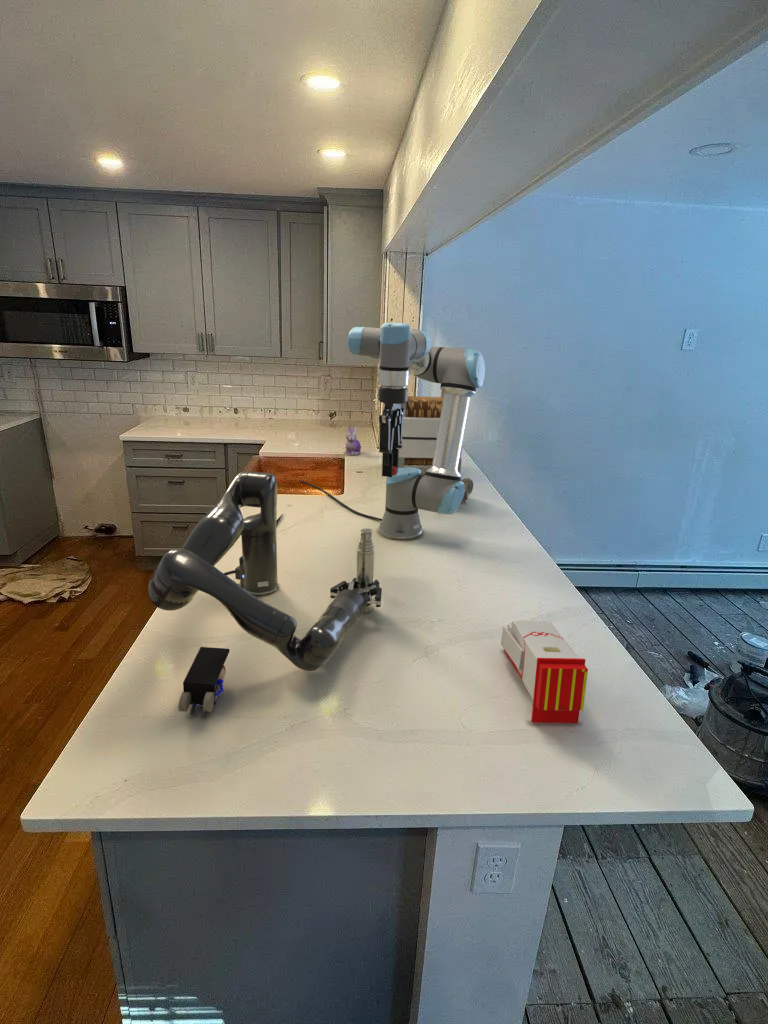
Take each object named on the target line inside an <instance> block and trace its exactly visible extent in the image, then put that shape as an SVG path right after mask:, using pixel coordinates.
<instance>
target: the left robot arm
mask: <svg viewBox="0 0 768 1024" xmlns="http://www.w3.org/2000/svg"><path fill="white" fill-rule="evenodd" d="M244 507H247V508H248V507H249V508H259V509H260V511H259V513H256V514H252V515H248V516H246V517H244V515H243V513H242V510H241V508H244ZM277 520H278V481H277V477H276V476H275V475H274V474H273V473H269V472H260V471H247V470H246V471H245V470H244V471H241V472H239V473H238V474H237V475H236V476H235V477H234V478H233V480H232V481H231V483H229V485H228V487H227V489H226V490H225V492H224V493H223V494H222V496H221V497H220V498H219V499H218V501H217V502H216V503H215V504H214V505H213V506H212V507H211V508H210V509H209V510H208V511H207V512H206V513H205V515H203V517H202V518H201V519H199V521H198V523H196V525H195V526H194V528H193V530H192V531H191V532H190V534H189V536H188V537H187V539H186V541H185V542H184V544H183V545H182V547H181V548H173V549H170V550H169V551H167V552H165V554H164V555H163V556H162V557H161V559H160V560H159V562H158V564H157V565H156V567H155V568H154V570H153V573H152V574H151V576H150V578H149V580H148V584H147V595H148V599H149V600H150V602H151V603H152V604H153V606H155V607H156V608H157V609H160V610H162V611H169V612H172V611H177V610H181V609H183V608H185V607H186V606H188V605H189V604H190V603H192V601H193V600H194V598H195V597H196V595H197V594H198V593H199V592H202V593H204V594H206V595H209V596H211V597H212V598H213V599H215V600H216V601H217V602H219V603H220V604H221V605H222V606H223V607H224V608H225V609H226V610H227V612H228V613H229V614H230V615H231V617H232V618H233V619H234V621H235V622H236V624H237V625H238V626H239V627H240V628H241V629H242V630H243V631H244V632H246V633H247V634H249V635H251V637H254V638H256V639H258V640H260V641H261V642H264V643H266V644H268V645H269V646H272V647H274V648H275V649H276V650H277V651H278V652H279V653H281V654H282V655H283V656H284V657H285V658H286V659H287V660H288V661H290V663H291V664H293V665H294V666H295V667H297V668H298V669H299V670H301V671H304V672H316V671H318V670H319V669H321V668H322V667H323V665H324V664H325V663H326V662H327V661H328V660H329V659H330V657H331V656H332V655H333V654H334V653H335V652H336V651H337V650H338V648H339V647H340V645H341V643H342V641H343V639H344V638H345V637H346V635H347V634H348V632H349V631H350V630H351V629H352V628H353V627H354V626H355V625H356V623H357V622H358V620H359V619H360V617H361V616H362V615H363V612H364V610H365V608H366V607H368V606H369V605H370V604H372V605H374V606H375V607H376V608H381V607H382V592H383V590H382V589H383V588H382V587H380V584H381V583H380V581H379V579H375V580H373V584H372V585H371V586H370V587H366V588H364V589H362V590H358V589H356V577H354V578H352V580H350V581H349V582H347V581H346V580H342V581H341V582H339V583H336V584H335V585H333V586H332V587H330V588H329V598H330V599H332V600H331V601H330V603H329V604H328V606H327V607H326V609H325V610H324V612H323V613H322V614H321V615H320V617H318V619H317V621H316V622H315V623H314V624H313V625H312V626H311V627H310V628H309V629H308V631H307V632H306V633H305V634H304V635H303V636H302V637H301V638H299V637H298V636H296V635H295V633H296V630H297V625H298V623H297V620H296V619H295V618H294V616H291V615H290V614H289V613H286V612H284V611H283V610H280V609H279V608H276V607H274V606H272V605H271V604H270V603H267V602H265V601H263V600H261V599H260V598H259V597H257V596H264V595H269V594H272V593H274V592H276V591H277V590H278V589H279V583H278V581H279V580H278V550H277V549H278V547H277V540H278V539H277V526H276V521H277ZM240 537H241V539H240V540H241V556H240V557H239V558H238V562H239V563H238V564H239V565H238V566H237V567H235V568H234V569H233V570H229V571H225V572H222V571H221V570H219V569H218V568H217V567H216V565H217V564H218V563H219V562H220V561H221V560H222V559H223V558H224V556H225V555H227V553H228V552H229V551H230V550H231V549H232V548H233V546H234V545H235V544H236V542H237V541H238V540H239V538H240ZM234 574H235V575H234ZM229 575H234V576H235V580H238V581H239V583H237V582H236V581H235V580H234V579H232V578H230V577H229ZM239 584H240V585H239ZM371 598H372V599H371Z"/></svg>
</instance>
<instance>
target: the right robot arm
mask: <svg viewBox="0 0 768 1024" xmlns="http://www.w3.org/2000/svg"><path fill="white" fill-rule="evenodd" d="M411 328H412V327H411V325H410V324H409V323H405V322H384V323H382V325H381V326H380V327H370V326H369V327H367V326H364V325H363V326H354V327H352V328H351V329H350V331H349V333H348V336H347V347H348V350H349V352H350V353H351V354H352V355H355V356H359V357H363V356H364V357H370V358H372V359H376V360H378V361H379V366H378V367H379V371H378V372H377V376H378V384H379V385H380V386H379V387H378V394H377V400H378V402H379V403H382V404H384V405H383V406H384V407H383V409H382V414H379V416H378V422H379V450H378V452H379V453H381V454H382V459H381V477H385V478H386V480H385V504H384V505H385V507H384V508H385V509H384V513H383V515H382V518H380V517H376V516H373V515H369V514H365V513H362V512H359V511H357V510H355V509H353V508H351V507H350V506H348V505H346V504H345V503H343V502H342V501H340V500H339V499H337V498H336V497H335V496H334V495H332V494H331V493H329V492H327V491H326V490H325V489H322V488H320V487H318V486H317V485H314V484H312V483H310V482H306V481H304V480H299V483H301V484H304V485H307V486H310V487H311V488H312V487H313V488H314V489H316V490H318V491H319V492H322V493H324V494H325V495H328V497H330V498H331V499H332V500H334V501H336V502H337V503H338V504H339V505H341V506H343V507H344V508H346V509H347V510H349V511H350V512H352V513H353V514H356V515H358V516H361V517H364V518H369V519H372V520H375V521H379V526H378V533H379V534H380V535H381V536H382V537H385V538H387V539H389V540H395V541H410V540H415V539H418V538H420V537H421V536H422V535H423V525H422V524H421V518H420V515H419V510H421V511H427V512H432V513H437V514H439V515H446V516H447V515H448V516H449V515H453V514H455V513H456V512H457V511H458V509H459V508H460V507H461V506H460V504H461V502H462V499H463V496H464V491H465V489H464V488H465V485H464V483H463V482H462V481H460V479H462V475H461V474H459V472H458V470H457V469H458V463H459V457H460V452H461V446H462V447H463V443H462V441H464V440H463V439H464V433H465V428H466V422H467V416H468V410H469V406H470V399H471V398H472V397H473V396H474V395H476V391H477V389H479V388H481V387H482V386H483V384H484V382H485V376H486V363H485V359H484V357H483V354H482V353H481V351H479V350H477V349H471V348H461V347H460V348H459V347H445V346H432V341H431V338H430V336H429V334H428V333H427V332H426V331H424V330H423V329H416V328H415V329H411ZM409 375H411V376H414V377H415V378H416V377H417V378H418V379H421V380H424V381H426V382H430V383H435V384H440V390H441V392H443V394H444V396H443V402H442V408H441V414H440V420H439V426H438V432H437V438H436V444H435V450H434V456H433V462H432V465H430V466H429V468H428V469H426V472H425V474H422V470H421V468H419V467H415V466H411V467H410V466H406V467H405V466H404V468H398V458H399V449H398V448H401V449H402V445H400V444H402V433H403V416H404V411H405V409H404V408H401V404H403V403H406V402H407V397H408V396H409V395H408V393H409V389H408V386H409V379H410V378H409V377H410V376H409ZM393 466H396V467H397V475H393V476H392V472H393ZM459 506H460V507H459Z"/></svg>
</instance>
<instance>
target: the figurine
mask: <svg viewBox="0 0 768 1024" xmlns="http://www.w3.org/2000/svg"><path fill="white" fill-rule="evenodd" d="M356 430H357V425H353V426H352V428H351V426H350V425H348V426H347V433H346V435H345V439H346V440H347V441H346V442H345V452H344V453H345V455H346V456H357V455H360V454H361V449H362V446H361V443H360V441H359V440H358V439H357V438H358V437H357V434H356Z"/></svg>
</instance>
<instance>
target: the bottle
mask: <svg viewBox="0 0 768 1024" xmlns="http://www.w3.org/2000/svg"><path fill="white" fill-rule="evenodd" d="M372 537H373V530H372V529H371V528H361V529H360V538H359V541H358V545H357V549H356V569H355V570H356V574H355V575H356V577H355V578H356V589H358V590H362V589H364V588H366V587H370V586H371V585H372V584H373V582H374V569H375V568H374V567H375V547H374V546H375V545H374V542H373V539H372ZM371 599H373V597H372V598H371ZM372 610H373V604H370V605H369V606H368V607H366V608H365V610H364V612H363V613H370V612H371V611H372ZM363 613H362V614H363Z"/></svg>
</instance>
